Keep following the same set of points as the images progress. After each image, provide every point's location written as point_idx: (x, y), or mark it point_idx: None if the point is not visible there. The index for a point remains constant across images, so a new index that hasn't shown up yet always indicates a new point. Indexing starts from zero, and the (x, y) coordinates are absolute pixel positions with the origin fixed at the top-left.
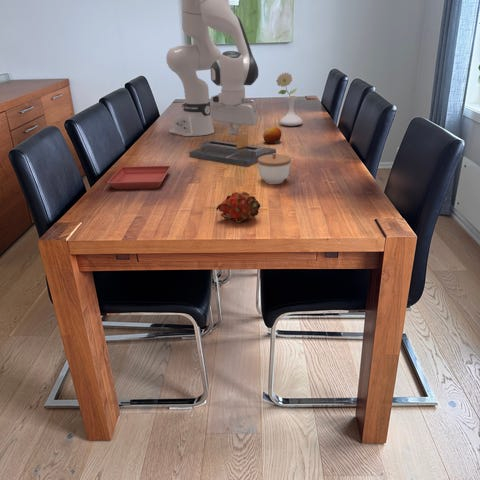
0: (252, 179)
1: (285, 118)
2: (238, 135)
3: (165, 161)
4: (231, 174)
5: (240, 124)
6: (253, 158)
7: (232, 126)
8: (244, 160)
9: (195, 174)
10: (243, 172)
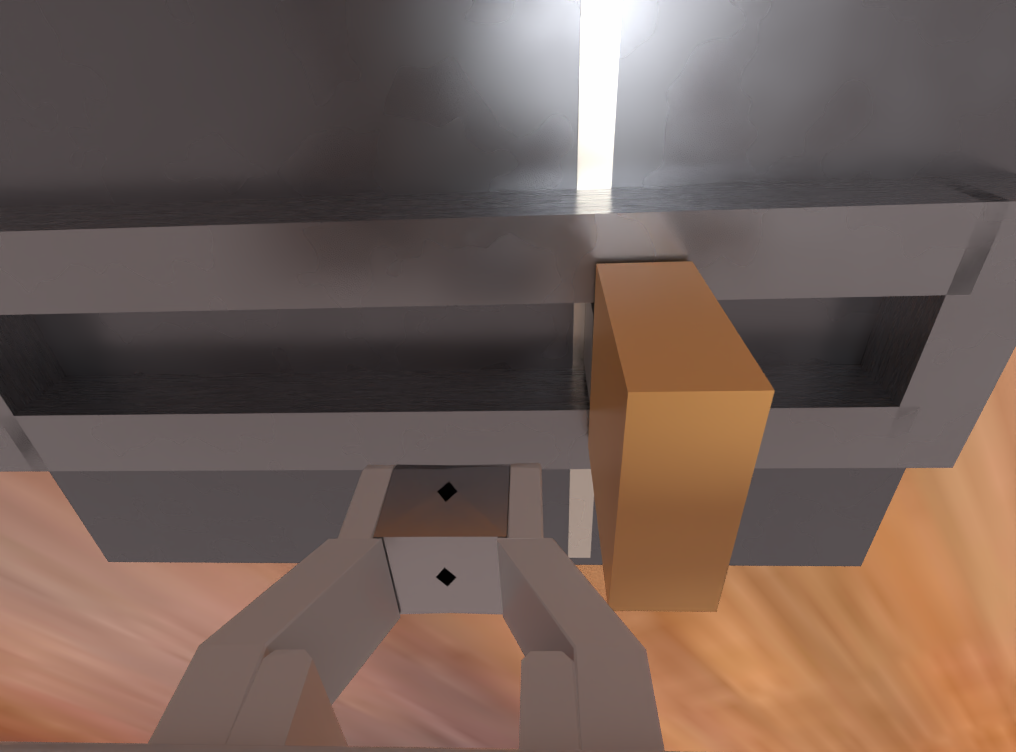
0: (977, 682)
1: None
2: (662, 608)
3: (137, 651)
4: (780, 668)
5: (653, 723)
6: (893, 472)
7: (320, 612)
8: (816, 554)
9: None
10: (854, 619)
